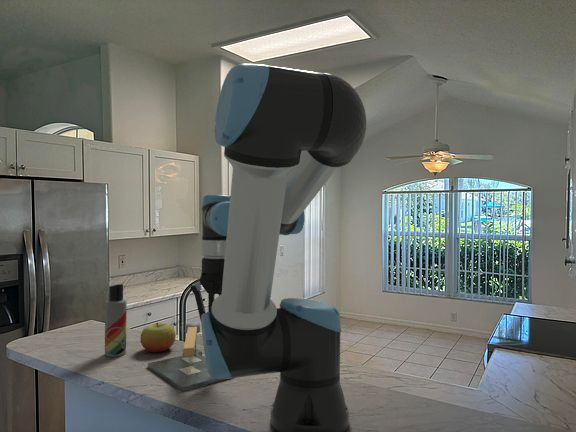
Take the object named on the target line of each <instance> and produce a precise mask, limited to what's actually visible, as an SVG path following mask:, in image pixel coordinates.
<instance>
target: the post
mask: <svg viewBox="0 0 576 432" xmlns="http://www.w3.org/2000/svg"><path fill="white" fill-rule="evenodd" d="M194 353H198V354H200V355H202V356H203V351H201V350H199V348H197V343H196V344H195V351H194ZM182 355H184V350H183V351H182Z"/></svg>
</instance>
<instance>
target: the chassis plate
mask: <svg viewBox="0 0 576 432" xmlns="http://www.w3.org/2000/svg"><path fill="white" fill-rule="evenodd" d="M147 368H148V369H149V370H151V371H152V372H154V373H155V374H156V375H158V376H159V377H161V378H162V379H164V380H165V381H167V382H168V383H169V384H171V385H172V386H173V387H175V388H176V389H177V390H179V391H180V392H181V393H183V392H186V391H187V392H188V391H190V390H193V389H197V388H201V387H205V386H208V385H211V384H216V383H218V382H219V383H220V382H221V381H225V380H227V379H216V378H213V377H211V376H210V374H209V372H208V369H207V364H206V358H205V356H203V354H202V355H200V354H198V353H194V356H184V354H182V355H179V356H174V357H170V358H165V359H161V360H156V361H151V362H148V363H147ZM229 379H230V378H229ZM229 379H228V380H229ZM230 380H231V379H230Z"/></svg>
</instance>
